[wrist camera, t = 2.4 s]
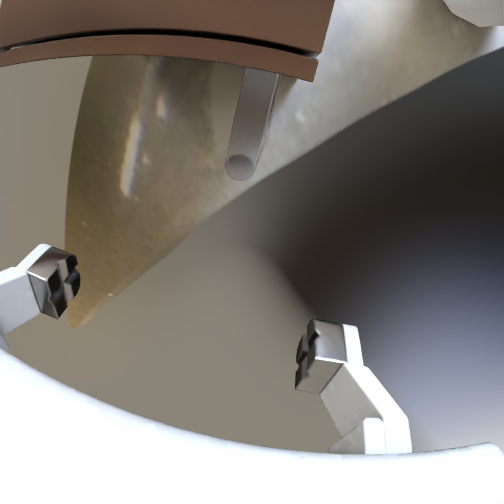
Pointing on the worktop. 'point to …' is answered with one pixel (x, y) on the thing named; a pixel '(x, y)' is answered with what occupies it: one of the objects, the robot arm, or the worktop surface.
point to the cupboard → (170, 21)
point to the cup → (478, 11)
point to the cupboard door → (242, 54)
